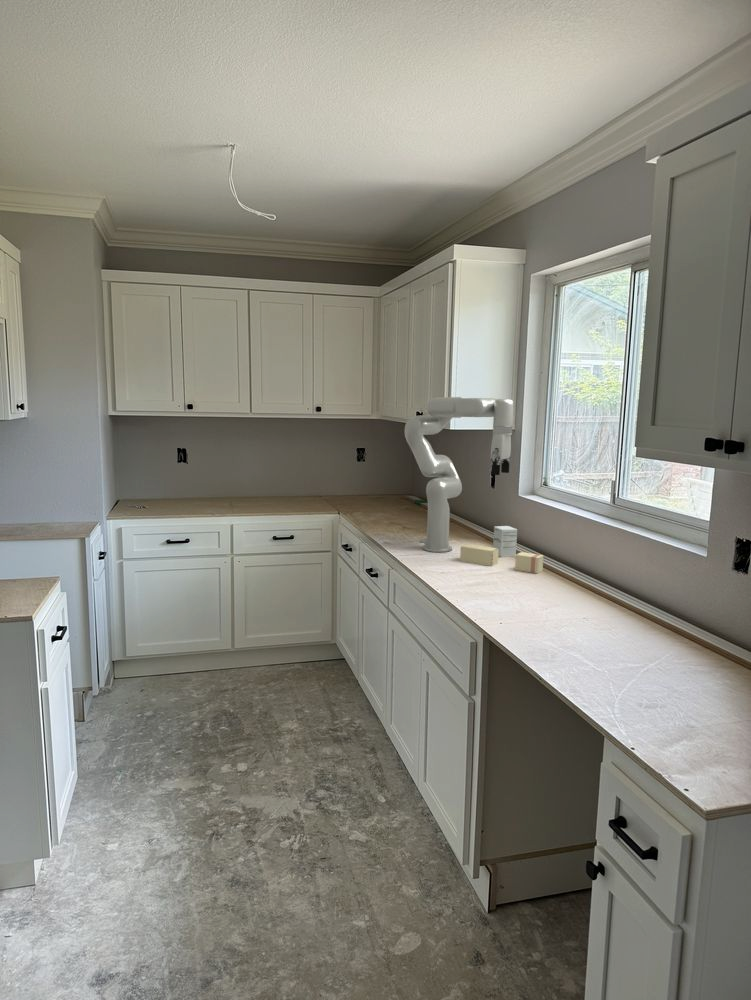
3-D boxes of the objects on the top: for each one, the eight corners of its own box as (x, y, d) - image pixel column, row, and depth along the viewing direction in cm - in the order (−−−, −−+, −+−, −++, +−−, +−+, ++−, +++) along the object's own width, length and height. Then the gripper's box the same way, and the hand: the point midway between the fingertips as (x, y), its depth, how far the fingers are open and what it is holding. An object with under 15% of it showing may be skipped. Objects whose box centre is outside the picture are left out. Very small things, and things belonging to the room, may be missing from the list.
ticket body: (459, 561, 273) (460, 546, 272) (465, 558, 277) (466, 543, 276) (492, 566, 265) (493, 551, 264) (497, 564, 270) (498, 548, 269)
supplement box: (492, 555, 287) (493, 526, 285) (507, 554, 289) (509, 525, 287) (500, 559, 280) (501, 529, 278) (516, 558, 282) (517, 528, 280)
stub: (515, 569, 260) (515, 554, 259) (520, 567, 265) (521, 551, 264) (537, 573, 255) (538, 557, 254) (542, 570, 260) (543, 555, 259)
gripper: (502, 429, 276) (499, 471, 278) (484, 430, 261) (482, 474, 264) (519, 430, 272) (517, 472, 274) (503, 431, 257) (500, 476, 260)
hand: (500, 473), depth 269 cm, fingers open, 9 cm apart
